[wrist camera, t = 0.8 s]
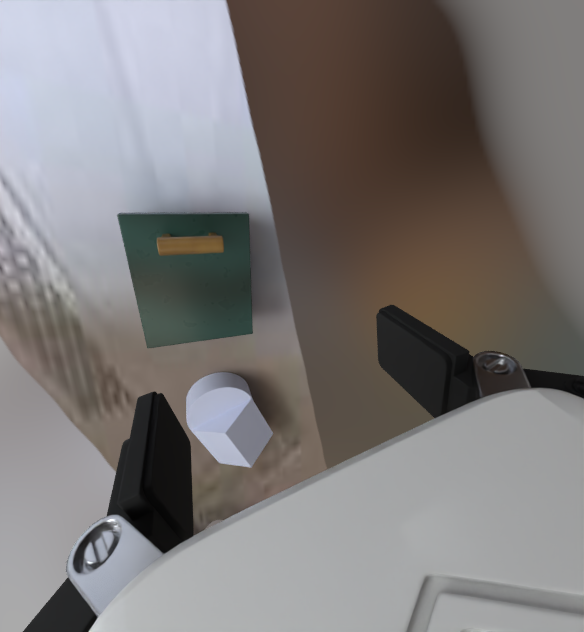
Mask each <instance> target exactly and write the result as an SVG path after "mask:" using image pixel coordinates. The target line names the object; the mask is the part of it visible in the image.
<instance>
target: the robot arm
mask: <svg viewBox="0 0 584 632" xmlns="http://www.w3.org/2000/svg"><path fill="white" fill-rule="evenodd" d="M376 318H377V339H378V340H377V341H378V361H379V364H380V366H381V367H382V368H383V369H384V370H385V371H386V372H387V373H388V374H389V375H390V376H391V377H392V378H393V379H394V380H395V381H396V382H398V383H399V384H400V385H401V386H402V387H403V388H404V389H405V390H406V391H407V392H408V393H409V394H410V395H411V396H412V397H413V398H414V399H415V400H416V401H417V402H418V403H419V404H420V405H422V406H423V407H424V408H425V409H426V410H427V411H428V412H429V413H430V414H431V415H432V416H433V417H434V418H435V419H433V420H431V421H428V422H426V423H425V424H422V425H420V426H418V427H416V428H414V429H412V430H410V431H407V432H405V433H403V434H401V435H399V436H397V437H395V438H392V439H390V440H388V441H386V442H384V443H382V444H380V445H378V446H376V447H373V448H372V449H369V450H367V451H365V452H363V453H361V454H359V455H357V456H355V457H353V458H351V459H349V460H346V461H344V462H342V463H340V464H338V465H336V466H334V467H332V468H330V469H328V470H325V471H323V472H321V473H319V474H317V475H315V476H313V477H311V478H309V479H307V480H305V481H303V482H301V483H299V484H296V485H294V486H292V487H290V488H288V489H286V490H284V491H282V492H280V493H278V494H276V495H274V496H272V497H270V498H268V499H266V500H263V501H261V502H259V503H257V504H255V505H253V506H251V507H249V508H247V509H245V510H243V511H241V512H239V513H237V514H235V515H233V516H231V517H229V518H227V519H225V520H223V521H221V522H219V523H218V524H215V525H213V526H212V527H210V528H208V529H206V530H204V531H202V532H200V533H198V534H196V535H195V536H193V503H192V473H191V446H190V441H189V439H188V437H187V435H186V433H185V431H184V430H183V428H182V426H181V425H180V423H179V421H178V419H177V418H176V416H175V414H174V412H173V411H172V409H171V407H170V405H169V404H168V402H167V400H166V399H165V397H164V395H163V394H162V393H160V394H157V393H156V392H151V393H149V394H146V395H143V396H140V397H139V398H138V400H137V404H136V409H135V415H134V420H133V425H132V430H131V435H130V439H128V440H125V441H124V443H123V445H122V449H121V453H120V458H119V462H118V467H117V472H116V476H115V481H114V485H113V490H112V494H111V499H110V503H109V508H108V512H107V516H106V517H104V518H102V519H100V520H98V521H97V522H95V523H94V524H92V525H91V526H90V527H89V528H88V529H87V530H86V531H85V532H84V533H83V534H82V535H81V537H80V538H79V539H78V540H77V541H76V543H75V545H74V547H73V548H72V550H71V552H70V555H69V557H68V560H67V566H66V572H67V575H68V578H67V579H66V580H65V582H64V583H63V584H62V585H61V586H60V588H59V589H58V590H57V591H56V593H55V594H54V595H53V596H52V597H51V599H50V600H49V601H48V602H47V603H46V605H45V606H44V607H43V608H42V609H41V610H40V612H39V613H38V614H37V615H36V616H35V618H34V619H33V620H32V621H31V623H30V624H29V625H28V626H27V627H26V629H25V630H24V631H23V632H584V376H579V375H571V374H563V373H554V372H546V371H538V370H530V369H523V368H522V366H521V364H520V363H519V361H517V360H516V359H515V358H514V357H512V356H509V355H507V354H504V353H501V352H495V351H484V352H480V353H478V354H476V355H475V356H474V357H473V356H471V355H470V354H469V351H468V350H467V349H465V348H463V347H461V346H460V345H459V344H457V343H455V342H454V341H452V340H450V339H449V338H447V337H445V336H444V335H442V334H440V333H438V332H437V331H436V330H434V329H432V328H431V327H429V326H427V325H426V324H424V323H422V322H421V321H419V320H417V319H416V318H414V317H413V316H411V315H409V314H407V313H406V312H404V311H403V310H401V309H399V308H398V307H396V306H394V305H390V306H387V307H384V308H381V309H380V310H379V313H378V314H377V317H376Z"/></svg>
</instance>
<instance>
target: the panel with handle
mask: <svg viewBox="0 0 584 632" xmlns="http://www.w3.org/2000/svg"><path fill="white" fill-rule="evenodd" d="M117 216H118V221H119V225H120V229H121V234H122V238H123V243H124V247H125V251H126V256H127V260H128V265H129V269H130V273H131V278H132V282H133V287H134V291H135V295H136V300H137V304H138V309H139V313H140V317H141V322H142V326H143V331H144V335H145V339H146V344H147V348H154V347H161V346H168V345H175V344H182V343H189V342H196V341H204V340H211V339H218V338H225V337H232V336H239V335H246V334H252V333H253V329H252V298H251V268H250V237H249V214H248V213H246V212H217V213H119V214H118V215H117Z"/></svg>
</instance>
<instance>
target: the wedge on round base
mask: <svg viewBox="0 0 584 632" xmlns="http://www.w3.org/2000/svg"><path fill="white" fill-rule="evenodd" d="M186 412H187V424H188V427H189V428H190V430H191V431H192V432H193V433H194V434H195V436H196V437H197V438H198V439H199V440H200V441H201V442H202V444H203V445H204V446H205V447H206V448H207V449H208V450H209V452H210V453H211V454H212V455H213V456H214V457H215V459H216V460H217V461H218V462H219V463H223V464H230V465H237V466H245V467H252V466H253V464H254V463H255V461H256V459H257V458H258V456H259V455H260V453H261V452H262V450H263V449H264V447H265V445H266V444H267V442H268V441H269V439H270V438H271V436H272V435H273V432H272V431H271V429H270V427H269V426H268V424H267V422H266V421H265V419H264V417H263V416H262V414H261V413H260V411H259V409H258V408H257V406H256V404H255V403H254V401H253V399H252V396H251V393H250V390H249V387H248V384H247V383H246V381H245V380H244V379H243V378H242V377H240V376H238V375H236V374H233V373H229V372H219V373H213V374H210V375H207V376H205V377H203V378H201V379H200V380H198V381H197V382H196V383H195V384H194V385H193V386H192V387H191V389H190V390H189V392H188V394H187V398H186Z"/></svg>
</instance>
